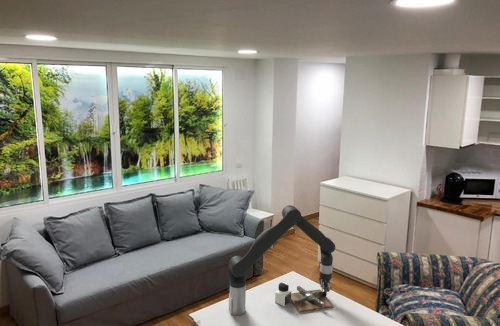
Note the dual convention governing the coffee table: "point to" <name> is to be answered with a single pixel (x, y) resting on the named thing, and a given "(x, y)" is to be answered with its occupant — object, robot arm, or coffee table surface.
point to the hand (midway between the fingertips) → (324, 296)
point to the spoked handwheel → (309, 296)
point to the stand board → (309, 303)
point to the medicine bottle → (283, 294)
